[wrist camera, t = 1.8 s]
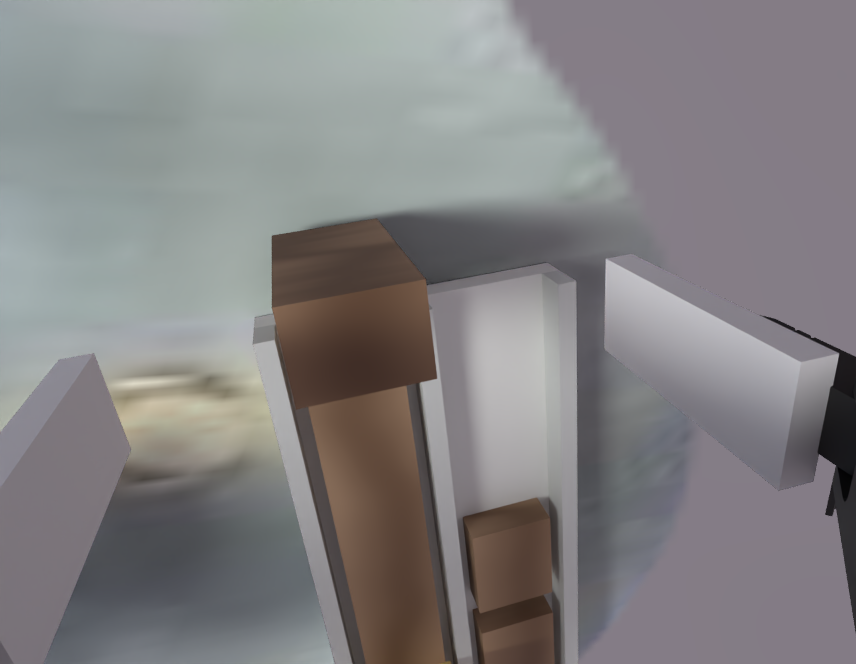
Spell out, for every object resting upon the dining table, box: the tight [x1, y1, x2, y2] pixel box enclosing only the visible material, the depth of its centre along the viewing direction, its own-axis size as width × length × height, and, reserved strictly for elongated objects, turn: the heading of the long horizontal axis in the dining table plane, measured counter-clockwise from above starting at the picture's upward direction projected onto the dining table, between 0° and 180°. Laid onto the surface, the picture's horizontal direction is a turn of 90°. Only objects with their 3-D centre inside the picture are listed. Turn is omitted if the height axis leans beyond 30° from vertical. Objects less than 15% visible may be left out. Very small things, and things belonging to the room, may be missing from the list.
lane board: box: [253, 263, 578, 664], centre depth 30 cm, size 13×28×3 cm, turn 7°
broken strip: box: [463, 497, 555, 664], centre depth 32 cm, size 4×14×2 cm, turn 7°
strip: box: [272, 219, 446, 664], centre depth 25 cm, size 4×30×8 cm, turn 7°
